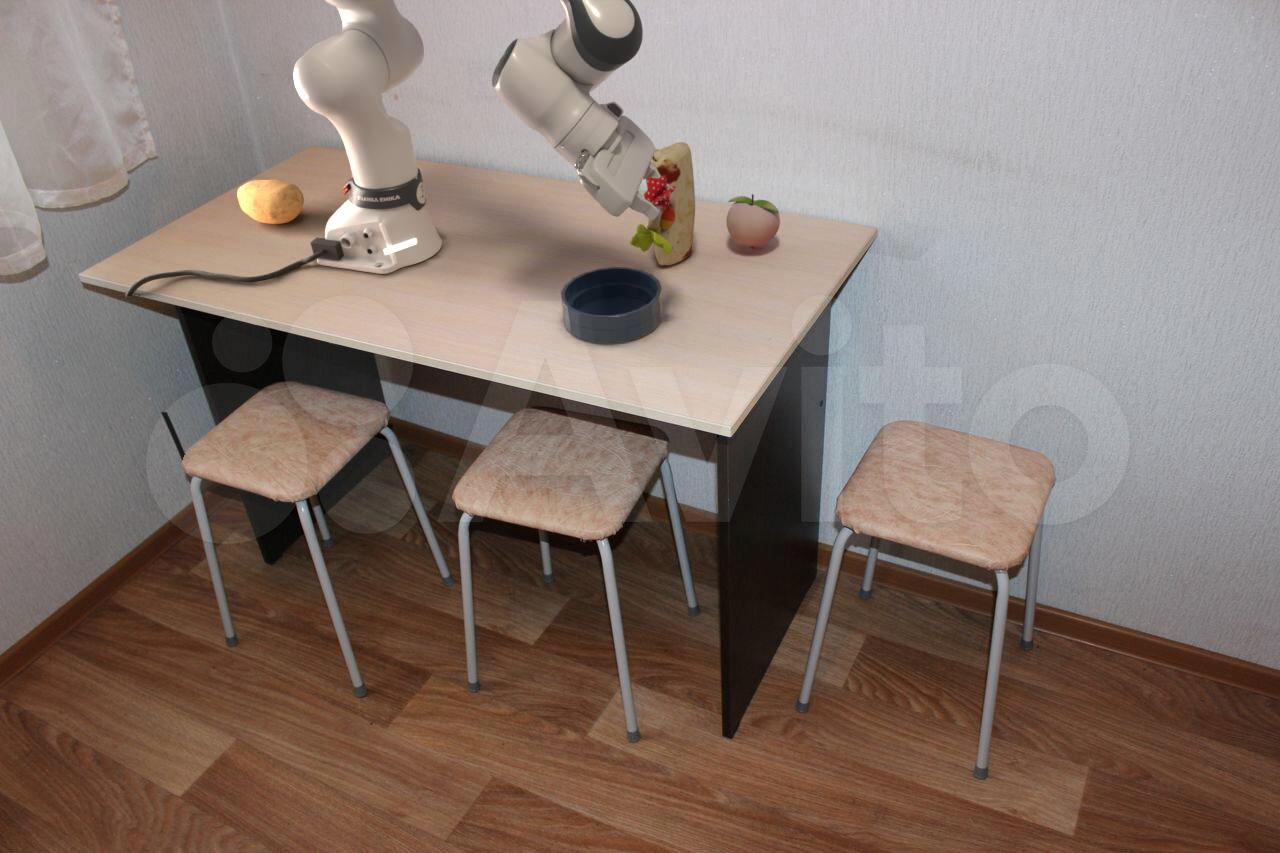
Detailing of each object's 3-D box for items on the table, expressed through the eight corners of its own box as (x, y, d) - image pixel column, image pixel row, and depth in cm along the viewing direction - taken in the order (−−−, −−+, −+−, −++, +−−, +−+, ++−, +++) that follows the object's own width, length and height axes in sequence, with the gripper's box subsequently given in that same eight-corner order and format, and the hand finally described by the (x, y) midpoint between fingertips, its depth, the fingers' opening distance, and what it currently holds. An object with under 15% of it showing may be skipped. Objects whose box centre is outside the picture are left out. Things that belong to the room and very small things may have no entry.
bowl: (553, 342, 160) (550, 315, 157) (577, 292, 172) (574, 265, 169) (653, 347, 157) (651, 319, 154) (670, 295, 169) (668, 268, 166)
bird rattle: (645, 248, 159) (623, 251, 151) (652, 173, 156) (630, 173, 148) (684, 253, 157) (664, 257, 149) (691, 178, 154) (672, 177, 146)
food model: (676, 274, 175) (670, 161, 163) (643, 265, 178) (635, 154, 166) (705, 249, 181) (702, 139, 169) (673, 242, 184) (668, 132, 172)
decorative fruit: (719, 256, 179) (718, 203, 173) (733, 235, 185) (732, 182, 179) (772, 263, 176) (773, 208, 170) (784, 241, 182) (785, 187, 176)
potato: (265, 206, 208) (253, 168, 204) (321, 215, 203) (310, 176, 198) (231, 227, 201) (218, 188, 197) (288, 237, 196) (276, 197, 191)
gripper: (586, 152, 137) (663, 221, 141) (618, 97, 153) (686, 161, 157) (558, 184, 141) (634, 250, 145) (591, 126, 157) (659, 188, 161)
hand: (661, 203), depth 151 cm, fingers closed on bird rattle, 6 cm apart
